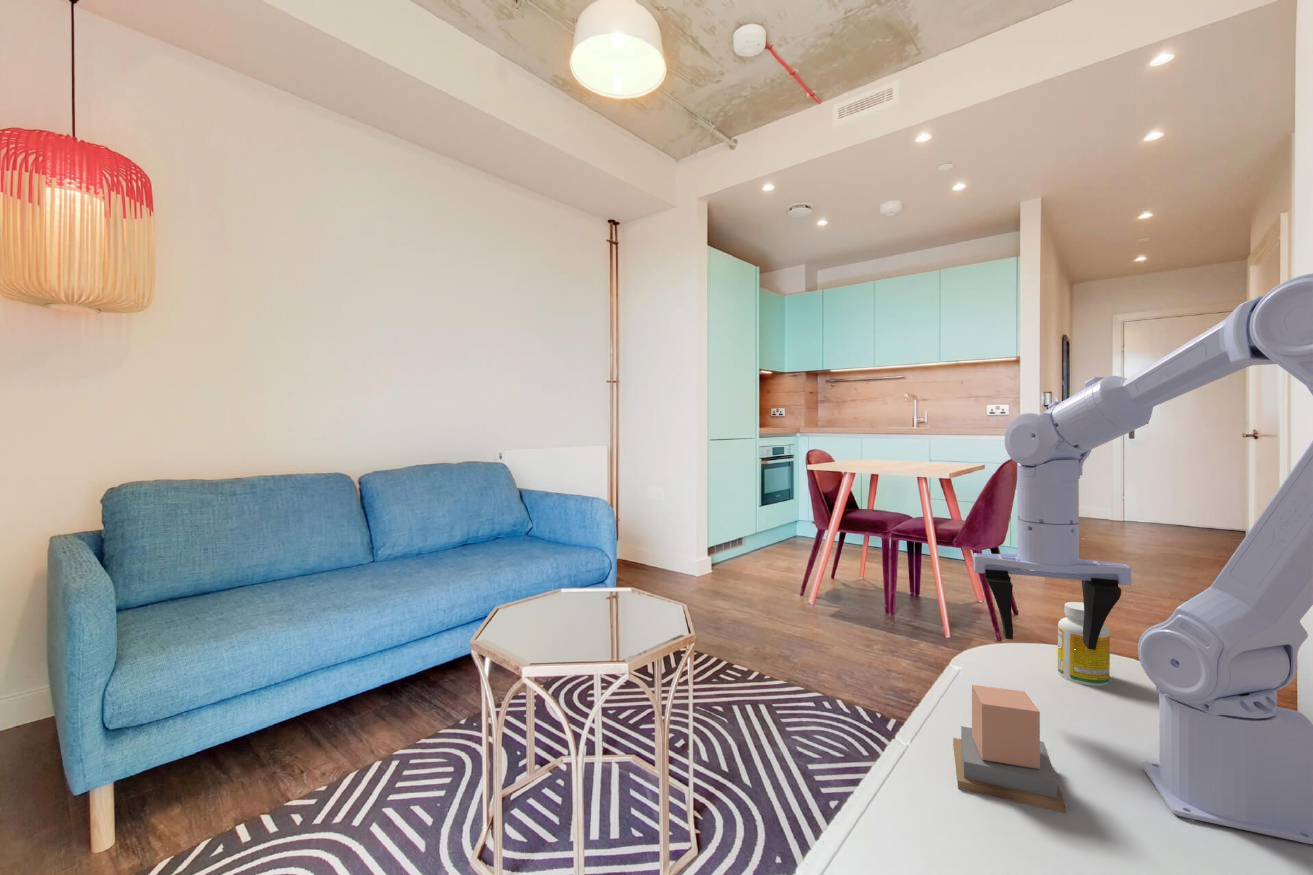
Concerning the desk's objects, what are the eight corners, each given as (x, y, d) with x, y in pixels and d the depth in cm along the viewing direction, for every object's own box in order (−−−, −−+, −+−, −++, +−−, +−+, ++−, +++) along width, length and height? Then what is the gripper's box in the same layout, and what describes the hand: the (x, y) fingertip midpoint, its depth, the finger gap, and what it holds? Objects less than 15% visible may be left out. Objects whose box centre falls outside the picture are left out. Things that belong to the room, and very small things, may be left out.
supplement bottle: (1047, 673, 75) (1047, 601, 75) (1080, 669, 77) (1080, 598, 77) (1086, 691, 70) (1086, 613, 70) (1121, 687, 71) (1120, 610, 71)
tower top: (1043, 757, 55) (1043, 741, 55) (1057, 798, 48) (1057, 781, 48) (961, 740, 58) (961, 725, 58) (964, 777, 52) (963, 761, 52)
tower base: (1046, 770, 55) (1046, 755, 55) (1065, 822, 48) (1065, 804, 48) (953, 752, 58) (953, 737, 58) (958, 797, 51) (958, 780, 51)
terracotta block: (1024, 744, 54) (1024, 691, 54) (1040, 768, 50) (1039, 711, 50) (971, 736, 56) (971, 684, 56) (982, 759, 51) (982, 703, 52)
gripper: (1116, 519, 65) (1117, 639, 65) (971, 513, 71) (971, 622, 71) (1138, 529, 58) (1138, 661, 58) (976, 520, 64) (976, 640, 64)
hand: (1047, 641), depth 64 cm, fingers open, 7 cm apart
